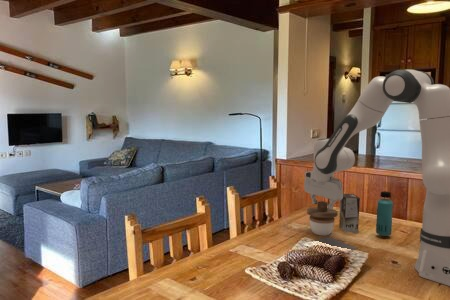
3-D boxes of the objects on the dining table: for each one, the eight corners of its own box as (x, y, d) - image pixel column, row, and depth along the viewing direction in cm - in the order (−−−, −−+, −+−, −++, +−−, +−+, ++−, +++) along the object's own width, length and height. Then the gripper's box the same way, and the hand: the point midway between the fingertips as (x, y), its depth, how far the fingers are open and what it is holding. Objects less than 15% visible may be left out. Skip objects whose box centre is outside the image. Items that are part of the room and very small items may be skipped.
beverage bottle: (388, 234, 169) (391, 190, 166) (393, 239, 162) (396, 193, 160) (373, 234, 169) (375, 189, 167) (377, 239, 163) (380, 193, 160)
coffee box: (358, 233, 170) (360, 198, 168) (344, 233, 170) (345, 198, 168) (352, 227, 179) (353, 193, 177) (338, 226, 179) (339, 193, 177)
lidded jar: (336, 233, 170) (337, 212, 169) (329, 240, 161) (330, 218, 160) (313, 229, 176) (314, 209, 175) (305, 235, 167) (306, 214, 166)
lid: (343, 215, 165) (344, 203, 165) (321, 219, 159) (322, 207, 158) (322, 208, 176) (322, 197, 176) (300, 212, 170) (301, 200, 169)
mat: (358, 250, 150) (358, 248, 150) (328, 258, 142) (329, 256, 142) (328, 238, 164) (328, 236, 164) (299, 244, 156) (299, 243, 156)
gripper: (347, 178, 158) (345, 210, 160) (312, 171, 176) (311, 200, 177) (336, 179, 155) (335, 213, 157) (302, 172, 173) (301, 202, 174)
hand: (322, 206), depth 167 cm, fingers open, 8 cm apart
